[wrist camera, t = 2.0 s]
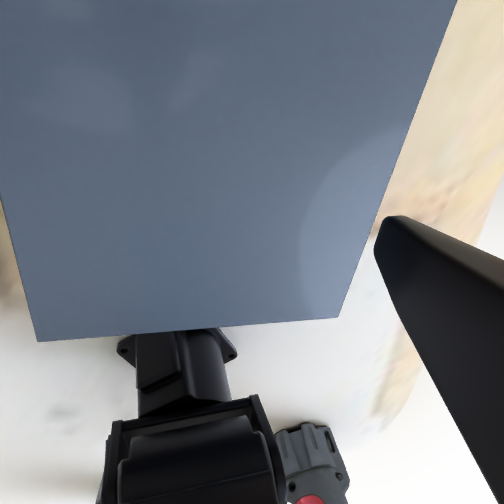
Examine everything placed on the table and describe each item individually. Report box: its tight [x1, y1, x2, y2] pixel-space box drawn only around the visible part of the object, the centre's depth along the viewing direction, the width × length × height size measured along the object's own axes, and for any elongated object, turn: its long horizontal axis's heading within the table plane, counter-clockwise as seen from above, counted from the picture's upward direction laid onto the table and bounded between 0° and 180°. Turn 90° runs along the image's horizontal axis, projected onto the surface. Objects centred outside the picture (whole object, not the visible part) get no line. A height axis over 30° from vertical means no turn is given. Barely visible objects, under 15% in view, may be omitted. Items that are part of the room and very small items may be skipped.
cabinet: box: [0, 0, 457, 342], centre depth 17 cm, size 16×14×7 cm
